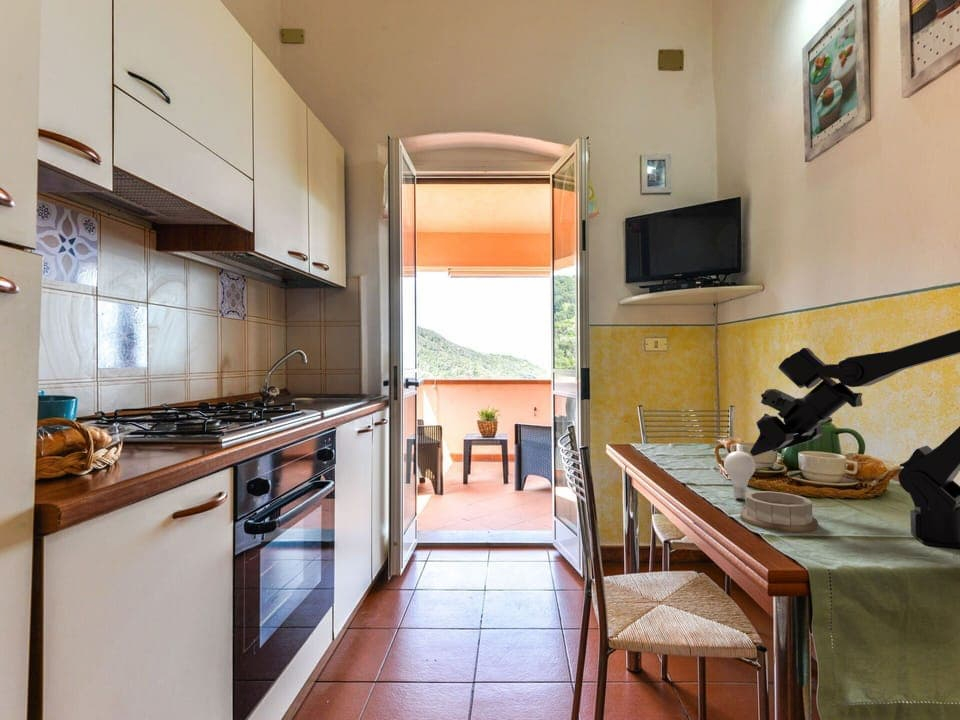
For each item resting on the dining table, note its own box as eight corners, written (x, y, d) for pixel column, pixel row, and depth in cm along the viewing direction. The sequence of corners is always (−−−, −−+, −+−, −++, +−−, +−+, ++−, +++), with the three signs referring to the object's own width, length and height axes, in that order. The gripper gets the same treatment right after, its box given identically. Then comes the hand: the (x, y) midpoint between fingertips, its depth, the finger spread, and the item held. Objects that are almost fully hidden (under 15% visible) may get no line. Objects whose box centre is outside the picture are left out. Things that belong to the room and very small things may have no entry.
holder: (811, 516, 101) (811, 493, 101) (824, 536, 89) (823, 510, 89) (739, 508, 106) (738, 487, 106) (742, 526, 95) (741, 503, 95)
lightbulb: (718, 497, 116) (717, 449, 116) (738, 494, 118) (738, 448, 118) (741, 504, 110) (740, 454, 110) (762, 501, 112) (761, 452, 112)
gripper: (806, 375, 111) (756, 420, 120) (766, 377, 100) (714, 426, 109) (848, 413, 105) (792, 458, 114) (810, 420, 94) (751, 468, 103)
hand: (762, 451), depth 110 cm, fingers open, 9 cm apart
